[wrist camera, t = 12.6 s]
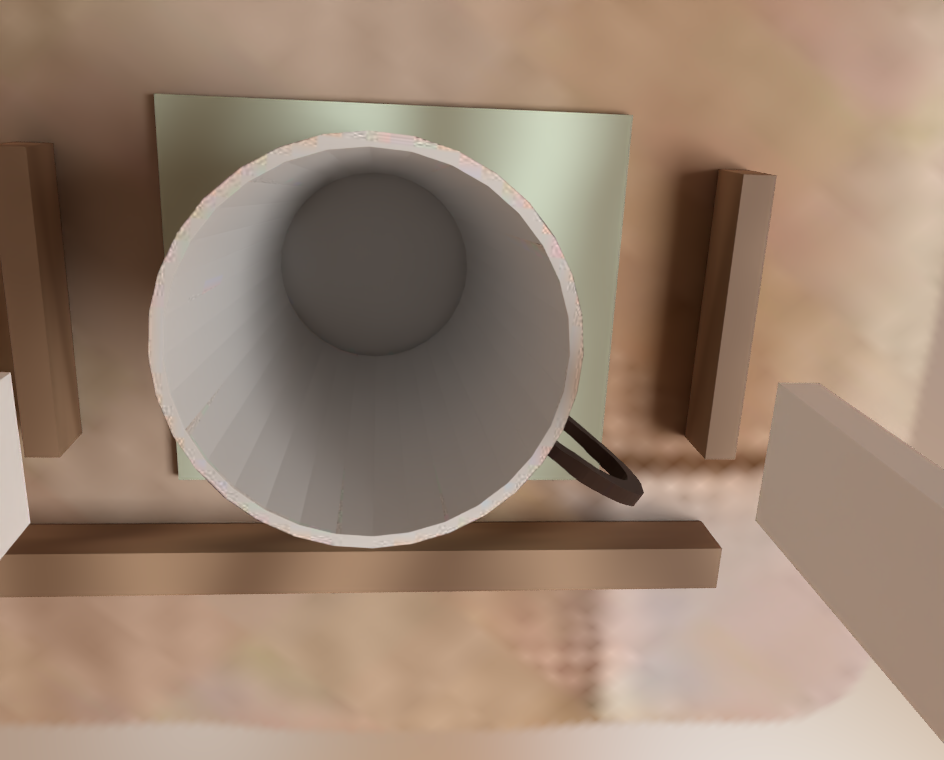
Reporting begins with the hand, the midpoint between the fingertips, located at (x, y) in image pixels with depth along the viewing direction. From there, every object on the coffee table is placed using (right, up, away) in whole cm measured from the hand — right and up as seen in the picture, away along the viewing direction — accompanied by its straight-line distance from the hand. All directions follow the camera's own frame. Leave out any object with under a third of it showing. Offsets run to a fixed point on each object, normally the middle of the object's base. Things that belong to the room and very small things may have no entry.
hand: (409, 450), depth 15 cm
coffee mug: (-1, +4, +12) cm, 13 cm away
